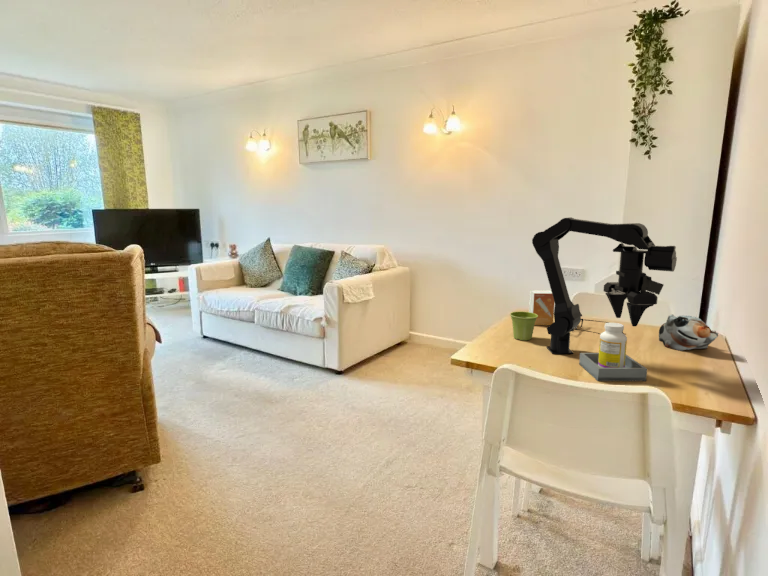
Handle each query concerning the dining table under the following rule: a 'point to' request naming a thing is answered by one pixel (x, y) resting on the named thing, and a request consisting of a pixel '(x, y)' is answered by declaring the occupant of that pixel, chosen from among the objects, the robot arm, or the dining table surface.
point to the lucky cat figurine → (686, 333)
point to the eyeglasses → (589, 331)
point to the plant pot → (523, 324)
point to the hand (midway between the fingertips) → (626, 321)
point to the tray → (613, 369)
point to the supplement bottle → (612, 346)
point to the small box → (542, 306)
